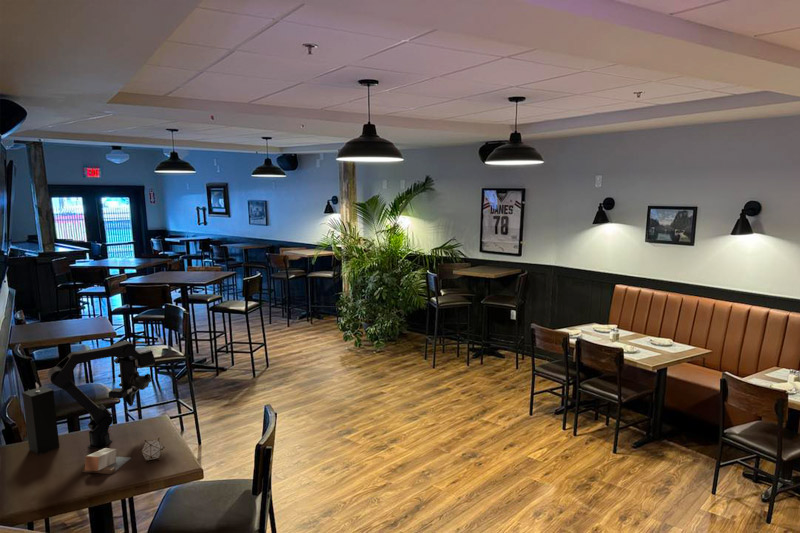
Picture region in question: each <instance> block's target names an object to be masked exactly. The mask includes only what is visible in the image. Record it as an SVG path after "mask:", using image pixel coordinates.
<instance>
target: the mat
mask: <svg viewBox="0 0 800 533" xmlns="http://www.w3.org/2000/svg"><path fill="white" fill-rule="evenodd" d="M130 460H132V457H129V456H128V457H127V456H116V462H115V463H113V464H111V465H109V466H107V467H115V472H116V471H117V470H118V469H120V468H122V467H123V466H124V465H125V464H126V463H127V462H129V461H130Z"/></svg>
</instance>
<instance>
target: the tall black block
mask: <svg viewBox="0 0 800 533" xmlns="http://www.w3.org/2000/svg"><path fill="white" fill-rule="evenodd" d="M21 394H22V399H23V407H24V408H23V409H24V415H25V416H24V417H25V424H26V433H27V441H28V449H29V451H30V450H31V451H30V452H32V453H34V454H35V455H37V456H40V455H43V454H45V453H48V452H50V451H53V450H56V449H58V448H60V438H59V431H58V421H57V412H56V404H55V395H54V394H55V392H54V389H52V388H49V387H48V386H46V385H44V386H40V385H39V383H37V382H35V388H32V389H30V390H26V391H23V392H21Z"/></svg>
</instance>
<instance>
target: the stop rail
mask: <svg viewBox="0 0 800 533" xmlns="http://www.w3.org/2000/svg"><path fill="white" fill-rule="evenodd" d="M115 472H116V471H115V467H105V468H103V469H101V470H98V471H90V470H85V465H84V466H83V467H81V473H93V474H94V473H95V474H107V475H112V474H114V473H115Z"/></svg>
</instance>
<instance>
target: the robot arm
mask: <svg viewBox="0 0 800 533" xmlns="http://www.w3.org/2000/svg"><path fill="white" fill-rule="evenodd" d="M105 358H115V359H114V360H113V362H114V363H115V364H117V365H118V364H119V372H120V373H119V374H118V376H117V378H120V382H121V383H118V387H115V388H113V389H111V390H109V391H108V393H107V394H108V395H107V396H108V398H109V399H124V401H125V402H126V403H127V405H128V406H129V407H132V406H133V405H134V402H135V398H136V395H137V392H138V391H140V390H141V391H143V390H145V389H146V388H149V384H150V383H151V382H152V375H151V374H150V373H146V374H145V375H140V372H139V370H138V371H137V370H136V367H137V368H139V369H144V368H147V367H151V366H155V365H156V358H155V355H154V353H153V350H151V349H148V350H145V351H140V352H139V351H137V350H136V346H135V345H134V344H133V343H131V342H130V341H128V340H122V341H118V342H115V343H112V345H109V346H104V347H98V348H92V349H86V350H80V351H79V350H78V351H72V352H70V353H68V354H67V356H65V358H63V359H62V360H61V361H59V362H58V363H57V364H56V366H54V367H52V368H51V367H50V369H49V370H48V372H47V375H46V376H47V378H48V380H49V381H50V382H51V384H53V385H54V386H56V387H58V389H61V390H63V391H65V392H66V393H67V394H69V396H71V398H72V399H74V400H75V401H76V402H77V403H78V404H79V405H80V406H81V407H82V408H83V409H84V410H85V411H86V412H87V413H88V414H89V415H90V417H91V420H90V422H88V424H87V427H88V428H89V429H90V431H88V435H89V436H88V437H89V445H87V449H99V450H102V449H104V447H106V446H107V445H109V444H110V443H111V442H113V440H112V439H111V438H110V432H109V428H110V426H111V425H112V424H113V421H114V418H113V417H112V416H113V413H112V412H111V411H110V410H109V409H108V408H106V406H105V405H104V404H101V405H100V406H99V405H97V404H96V403H95V402H93V400H92V399H90V397H88V396H87V394H85V393H84V392H83V391H82V390H81V389H80V388H79V387H78V386H77V385H76V384H75V383H74V382H73V379H72V378H71V377H70V376H71V374H72V373H73V372H74V370H75V368H76V367H77V366H78V365H79V363H83V362H84V363H85V362H89V361H94V360H100V359H105Z"/></svg>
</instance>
